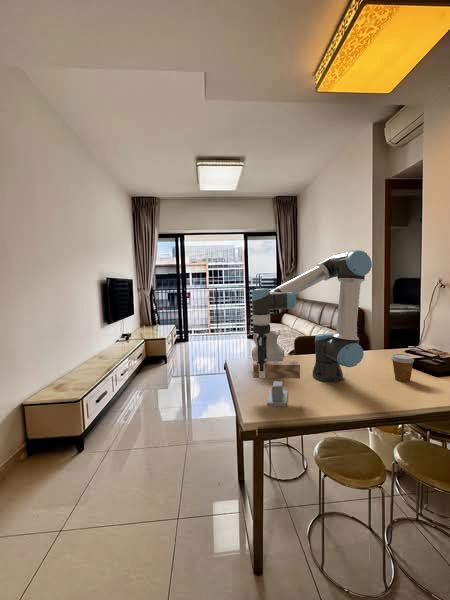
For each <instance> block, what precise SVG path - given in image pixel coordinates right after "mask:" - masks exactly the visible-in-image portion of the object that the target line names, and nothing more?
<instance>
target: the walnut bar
mask: <svg viewBox="0 0 450 600" xmlns="http://www.w3.org/2000/svg"><path fill="white" fill-rule="evenodd" d="M257 362H258V361H253V360H252V366H253V367H252V369H253V371H252V374H253V377H252V378H254V379H260V378H259V364H257ZM264 362H265V378H264V379H301V364H300V362H299V361H296V360H295V361H293V360H291V361H289V360H286V361H284V360H283V361H264Z"/></svg>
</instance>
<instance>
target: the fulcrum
mask: <svg viewBox="0 0 450 600" xmlns="http://www.w3.org/2000/svg"><path fill="white" fill-rule="evenodd" d="M283 383H284V382H283V381H278V380H277V381H276V380H274V381H273V384H272V388H271V389H270V390H269V392H268V393H269V394H268V398H267V402H266V405H267V406H273V407H283V408H285V407H286V408H287V406H288V390H284V384H283Z"/></svg>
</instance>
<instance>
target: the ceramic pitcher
mask: <svg viewBox="0 0 450 600" xmlns="http://www.w3.org/2000/svg"><path fill="white" fill-rule="evenodd" d="M265 335H266V336H267V345H266V346H267V356H268V359H267V358H265V359H267V361H284V359H285V350H284V349H283V347H281V346H280V345H279V344H278V337H279V336H280V335H281V330H280V329H278V331H276V330H270V333H268V334H265ZM252 337H253V341H254V343H255V346H254V347H253V348H252V350H251V357H252V362H253V361H258V346H257V337H258V334H256V333H254V332H253V331H252Z"/></svg>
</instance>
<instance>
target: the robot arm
mask: <svg viewBox="0 0 450 600" xmlns="http://www.w3.org/2000/svg"><path fill="white" fill-rule="evenodd" d="M372 266H373V263H372V259H371V257H370V256H369V254H368V253H367V252H365V251H364V250H359V249H357V250H350V251H344V252H338V253H336V254H334V255H331V256H330V257H328V258H326V259H324V260H322V261H321V262H318V263H317V264H316V266H315V267H314V268H312V269H310V270H307V271H305V272H304V273H302V274H300V275H298V276H296V277H294V278H292V279H291V280H288V281H286V282H284V283H283V284H281V285H279V286H277V287H275V288H273V289H271V290H270V289H269V288H256V289H252V292H251V302H252V303H251V304H252V316H251V319H252V324H253V325H252V333H253V332H254V333H256V334H258V337H257V336H256V339H257V346H258V362H257V364H259V378H258V379H266V378H265V362H264V361H267V359H268V356H267V346H266V345H267V336H266V335H265V334H268V333H270V331H271V311H273V310H288V309H289V310H290V309H294V308H295V307H296V304H297V297H296V295H297V294H299V293H301V292H303V291H305V290H307V289H309V288H311V287H313V286H314V285H317V284H319V283H320V282H322V281H328V280H330V279H332V278H337V280H338V282H339V283H340V285H339V296H338V297H339V299H338V309H337V320H336V332H335V333H331V332H328V333H327V332H326V333H319V334H316V335H315V336H314V337H315V338H314V346H315V347H314V348H315V349H314V350H315V354H314V355H315V363H314V366H313V369H312V377H313V378H314V379H316V380H318V381H322V382H323V381H324V382H327V383H328V382H334V383H335V382H340V381H342V380H343V379H344V373H343V371H342V367H341V366H343V367H347V368H353V367H354V368H355V366H356V367H357V366H358V364H360V363H361V362H362V360H363V358H364V349H363V347H362V346H361V345H360V344H359V343H360V338H359V336H358V335H357V328H358V326H357V325H358V315H359V314H358V313H359V303H360V292H361V284H362V283H363V282H364V281H365V279H366V276H367V275H368V274H369V272H371V270H372ZM265 358H267V359H265Z"/></svg>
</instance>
